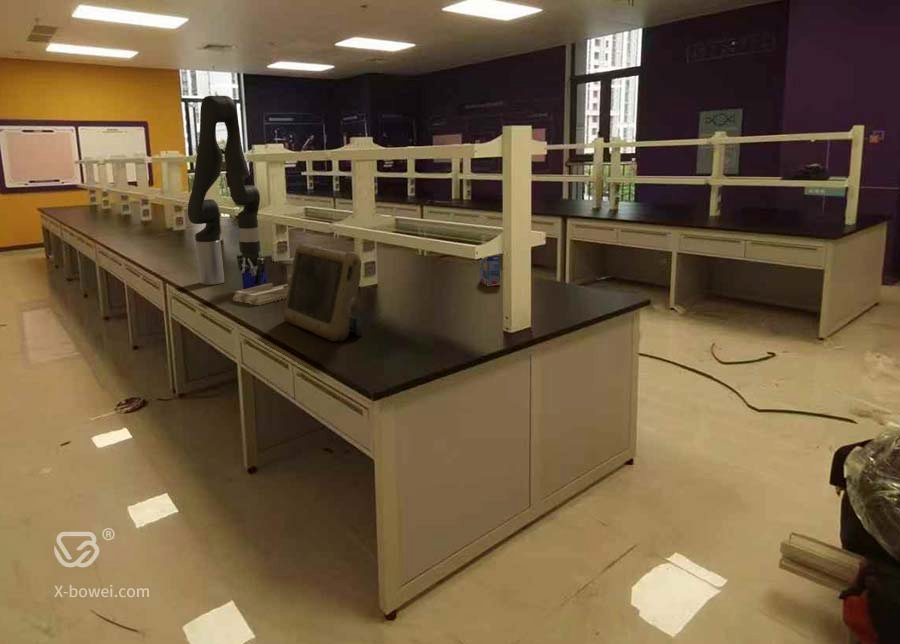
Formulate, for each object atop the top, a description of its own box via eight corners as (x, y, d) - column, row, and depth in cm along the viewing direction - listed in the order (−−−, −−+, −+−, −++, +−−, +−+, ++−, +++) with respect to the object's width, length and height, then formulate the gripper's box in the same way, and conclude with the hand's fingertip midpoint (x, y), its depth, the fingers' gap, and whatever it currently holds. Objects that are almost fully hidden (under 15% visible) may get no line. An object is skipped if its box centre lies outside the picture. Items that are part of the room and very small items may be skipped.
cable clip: (256, 281, 255) (255, 267, 253) (266, 282, 253) (265, 267, 252) (239, 288, 243) (238, 273, 242) (250, 289, 242) (249, 273, 241)
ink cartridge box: (478, 282, 260) (478, 246, 256) (491, 281, 261) (491, 245, 257) (487, 287, 251) (487, 250, 247) (500, 285, 252) (501, 249, 248)
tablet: (274, 323, 203) (267, 244, 196) (312, 314, 213) (306, 239, 206) (334, 345, 181) (329, 256, 174) (373, 334, 190) (370, 250, 184)
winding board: (233, 300, 233) (229, 267, 229) (291, 286, 254) (288, 256, 250) (258, 305, 225) (255, 271, 222) (315, 291, 246) (313, 259, 243)
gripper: (228, 238, 244) (232, 282, 249) (253, 242, 236) (257, 287, 241) (245, 236, 250) (248, 279, 255) (269, 240, 242) (273, 284, 247)
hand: (252, 283), depth 248 cm, fingers closed on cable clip, 5 cm apart
